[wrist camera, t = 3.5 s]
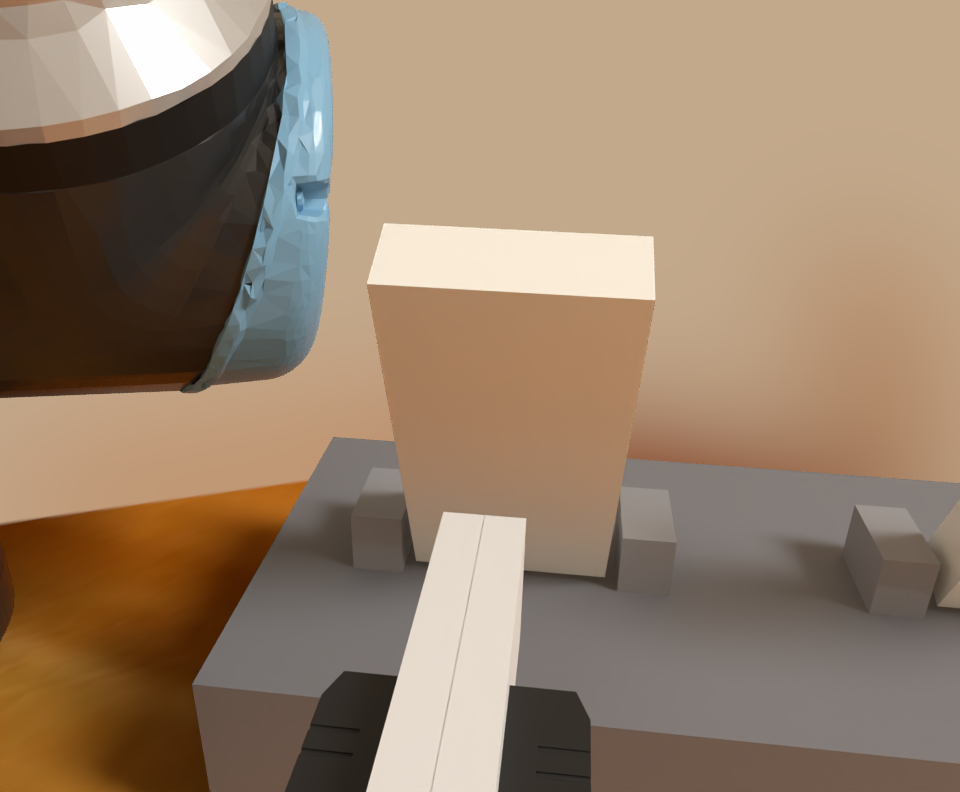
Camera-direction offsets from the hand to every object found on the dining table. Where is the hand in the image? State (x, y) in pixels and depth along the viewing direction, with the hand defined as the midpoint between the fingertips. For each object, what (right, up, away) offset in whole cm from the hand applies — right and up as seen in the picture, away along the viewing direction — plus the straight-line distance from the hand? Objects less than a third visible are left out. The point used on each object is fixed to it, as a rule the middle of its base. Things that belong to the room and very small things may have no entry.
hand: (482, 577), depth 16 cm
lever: (+1, -2, +12) cm, 13 cm away
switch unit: (+9, -8, +14) cm, 19 cm away
